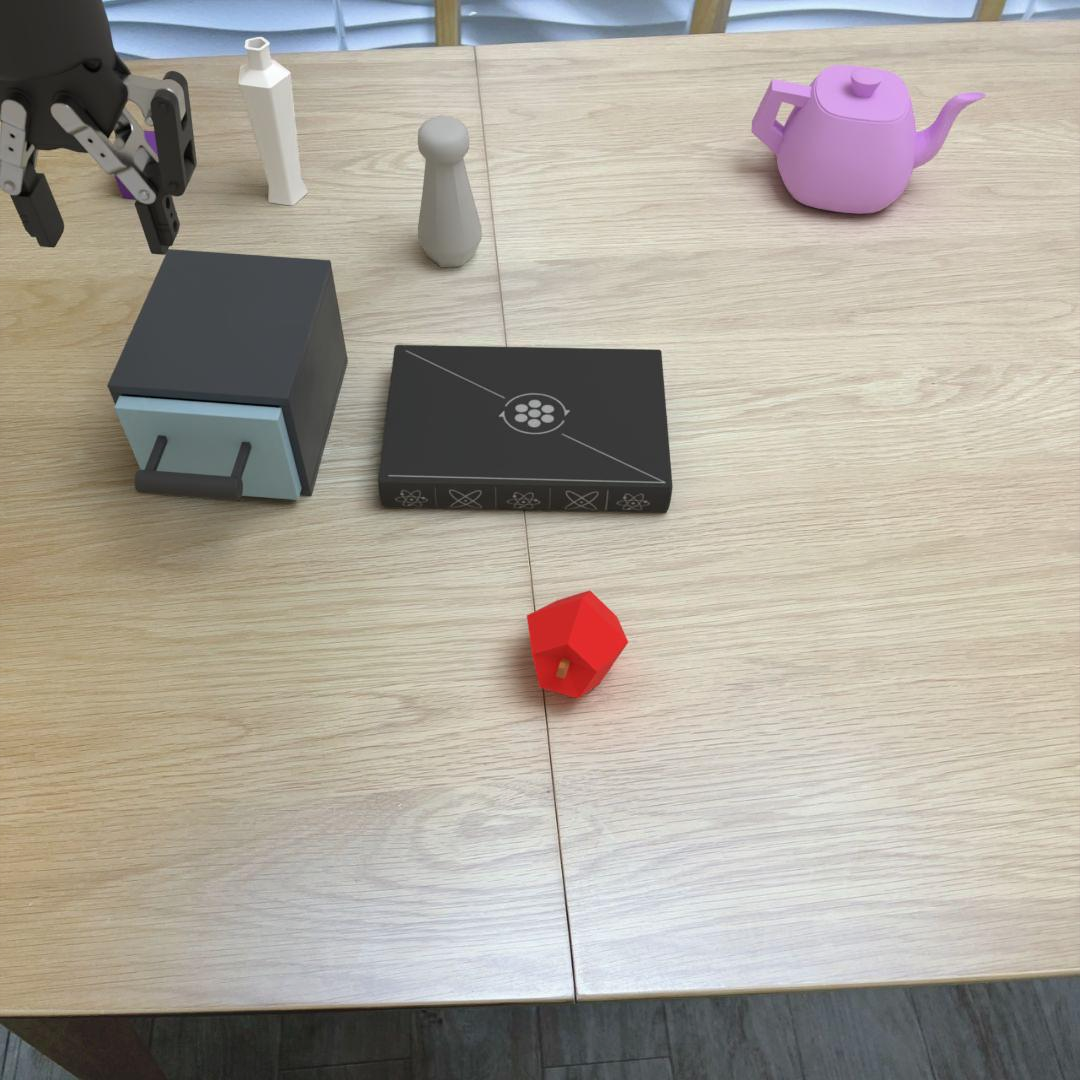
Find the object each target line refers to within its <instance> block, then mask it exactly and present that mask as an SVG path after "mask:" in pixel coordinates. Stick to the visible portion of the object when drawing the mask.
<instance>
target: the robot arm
mask: <svg viewBox="0 0 1080 1080" xmlns="http://www.w3.org/2000/svg"><path fill="white" fill-rule="evenodd" d="M129 101H130V102H132V103H134V104H135V105H136V106H137V107H138V108H139V109H140V112H141V115H142V117H143V119H144V123H145V125H146V126H148V127H153V131H154V132H155V139H156V146H157V153H158V155H157V154H156V153H155V152H154V151H153V149H152V148H151V147H150V146H149V144H148V143H147V142H146V140H145V134H144V131H145V130H144V129H143V127H142V126H141V125H140V123H139V122H138V121H137V120H136V118H135V116H133V115H132V114H131V112H130V111H129V110H128V109H127V107H126V105H127V103H128V102H129ZM192 118H193V117H192V110H191V100H190V91H189V83H188V81H187V79H186V77H185V76H184V75H183V74H182V73H181V72H178V71H176V70H170V71H167V72H165V74H164V76H163V78H162V79H158V78H154V77H153V78H152V77H147V76H141V75H136V74H133V73H132V71H131V69H130V68H129V66H128V65H127V64H125V62H124V61H123V60H122V59H121V58H120V56H119V55H118V53H117V51H116V49H115V47H114V43H113V36H112V31H111V26H110V22H109V17H108V15H107V11H106V9H105V5H104V2H103V0H0V190H1V191H3V192H4V193H5V194H7V195H9V196H10V199H11V201H12V203H13V205H14V207H15V210H16V212H17V215H19V219H20V221H21V224H22V226H23V227H24V230H25V232H26V233H27V234H29V236H30V237H31V238H35V239H36V242H37V244H38V245H39V247H42V248H53V249H54V248H55V247H56V246H57V245H58V242H59V241H60V239H61V237H62V235H63V234H64V231H65V223H64V219H63V217H62V214H61V211H60V209H59V207H58V205H57V201H56V199H55V197H54V194H53V192H52V189H51V187H50V185H49V182H48V180H47V177H46V175H45V173H44V172H37V170H36V167H37V164H38V158H39V151H55V150H59V149H65V150H68V151H72V152H75V153H81V154H89V155H90V156H91V157H92V159H93V160H94V161H95V162H96V164H98V166H99V167H101V169H102V170H103V171H104V172H105V173H106V174H107V175H109V176H110V175H113V176H114V175H116V176H117V177H118V178H119V179H120V181H121V182H122V183H123V184H124V185H125V186H126V188H127V189H128V190H129V191H130V192H131V193H132V195H133V196H134V197H135V198H136V199H135V201H134V206H135V210H136V213H137V216H138V219H139V222H140V224H141V229H142V231H143V233H144V237H145V240H146V243H147V245H148V248H149V251H150V253H151V254H152V255H162V256H165V255H166V253H167V251H168V249H170V247H172V246H173V245H174V242H175V240H176V238H177V236H178V234H179V231H180V226H181V222H180V219H179V217H178V213H177V210H176V206H175V203H174V199H173V197H181V196H183V195H184V194H185V192H186V189H187V188H188V185H189V183H190V181H191V178H192V176H193V174H194V172H195V169H196V168H197V164H198V160H197V152H196V144H195V135H194V127H193V119H192ZM143 130H144V131H143ZM113 132H114V136H115V139H114V141H113V142H112V141H111V140H110V137H111V136H112V133H113Z"/></svg>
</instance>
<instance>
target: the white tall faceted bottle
mask: <svg viewBox="0 0 1080 1080" xmlns="http://www.w3.org/2000/svg"><path fill="white" fill-rule="evenodd" d="M244 41H245V42H244V49H245V50H246V53H247V57H248V62H247V63H245V64H242V65H240V67H239V74H238V82H237V83H238V87H239V91H240V93H241V96H242V100H243V103H244V106H245V110H246V113H247V116H248V121H249V123H250V126H251V130H252V133H253V137H254V140H255V144H256V147H257V150H258V153H259V157H260V161H261V164H262V168H263V170H264V173H265V177H266V181H267V184H268V192H267V193H268V196H267V202H268V203H271V204H278V205H283V206H284V205H285V206H295V205H296V204H297V203H298V202H299V201H301V200H303V198H304V197H305V196H306V195H307V194H308V193H309V191H308V189H307V187H306V185H305V183H304V181H303V179H302V171H301V162H300V154H299V153H300V151H299V142H298V133H297V124H296V114H295V104H294V95H293V94H294V93H293V84H292V75H291V71H290V70H288V69H287V68H286V67H285V66H283V65H282V64H280V63H279V62H278V61H276V60H275V59H272V57H271V50H270V44H271V43H270V41H269V40H267V39H266V38H264V37H263V36H257V37H252V38H248V39H246V40H244Z"/></svg>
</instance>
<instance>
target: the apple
mask: <svg viewBox="0 0 1080 1080" xmlns="http://www.w3.org/2000/svg"><path fill="white" fill-rule="evenodd" d="M526 619H527V627H528V633H529V635H528V636H529V643H530V649H531V656H532V660H533V664H534V665H533V666H534V668H535V669H534V670H535V673H536V677H537V678H536V679H537V682H538V686H539V688H540V689H543V690H546V691H547V690H548V691H551V692H555V693H558V694H562V695H566V696H569V697H572V698H577V699H581V698H582V697H583V696H584V695H587V693H589V692H591V691H592V690H593V689H595V688H596V687H597V686H599V685H600V684H601V682H602V681H603V680H604V679H605V677H606V676H607V674H608V673H609V671H610V670H611V669H612V667H613V666H614V664H615V662H616V661H617V659H618V658H619V657H620V656H621V654H622V652H623V651H624V649H625V648H626V646H627V645H628V644H629V641H628V638H627V635H626V634H625V631H624V629H623V627H622V624H621V622H620V619H619V618H618V616H617V615H616V614H615V613H614V612H613V611H612V610H611V609H610V608H609V607H608V606H607V605H606V604H605V603H604V602H603V601H602V600H601V599H600V598H599V597H598V596H597V595H595V594H594V592H593V591H592V590H590V589H589V590H586V591H582V592H579V593H577V594H573V595H570V596H567V597H564V598H560V599H558V600H557V599H556V600H555V601H553V602H551V603H548V604H546V605H544V606H543V607H540V608H539V609H536V610H535V611H532V612H531V613H529V614H527V615H526Z"/></svg>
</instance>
